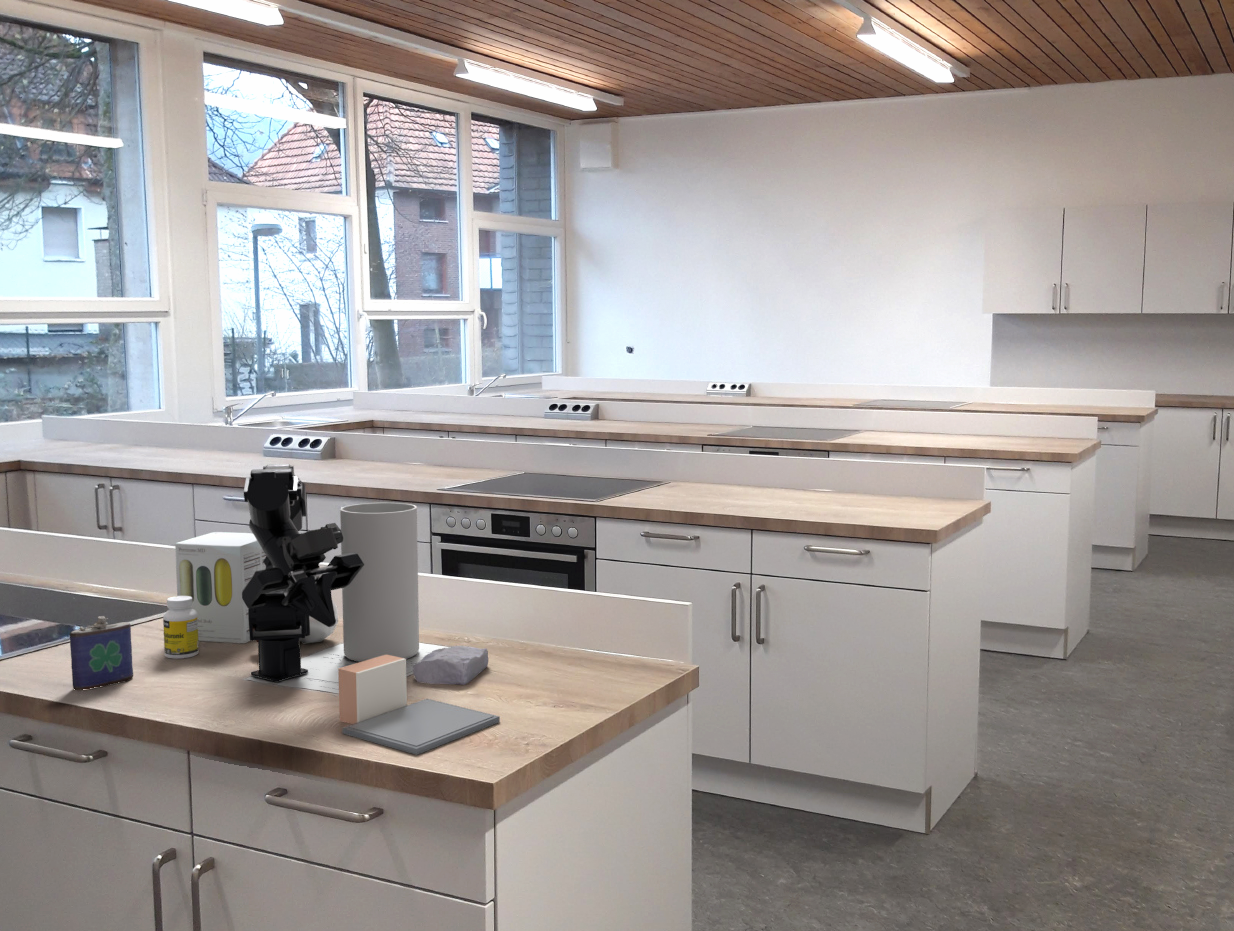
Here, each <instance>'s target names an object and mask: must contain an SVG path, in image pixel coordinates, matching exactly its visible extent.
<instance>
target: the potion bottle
mask: <svg viewBox="0 0 1234 931" xmlns="http://www.w3.org/2000/svg"><path fill="white" fill-rule="evenodd" d="M332 603H333V608H334V614H335V619H336V623H335V624H334V626H332V627H327V626H326V625H324V624H322V623H321V622H319V621H317V620H315V619H314V618H312V617H310V616H309V618H310V635H309V636H305V638H299V643H302V644H304V645H305V644H306V645H307V644H316V643H322V642H323V641H324V640H325V639H327V638H328V637H329V636H331V635H332V634H333V633H334V631H335V629H336V627H337V624H338V623H339V612H338V606H337V604H336V603H335V601H334V600H333V599H332ZM300 628H301V626H300ZM255 642H256V643H257V644H258V640H255Z"/></svg>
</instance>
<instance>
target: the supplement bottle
mask: <svg viewBox="0 0 1234 931" xmlns="http://www.w3.org/2000/svg"><path fill="white" fill-rule="evenodd" d="M166 606H167V608H168V610H167V611H166V612H164V613H163V616H162V618H163V620H162V623H163V645H164V650H163V651H164V656H165V657H166V658H169V659H176V660H177V659H178V660H180V659H181V660H182V659H187V658H192V657H194V656H197V655H198V654H199V652H200V651H199V650H200V648H199V641H198V619H197V612H196V611H195V610H194V609H191V606H192V597H190V596H177V595H176V596H171V597H168V598H167V599H166Z"/></svg>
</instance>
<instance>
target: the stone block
mask: <svg viewBox="0 0 1234 931" xmlns="http://www.w3.org/2000/svg"><path fill="white" fill-rule="evenodd" d="M488 665H489V650H488V648H485V647H484V648H478V647H474V646H473V647H472V646H469V645H452V646H449V647H443V648H438V649H434V650H432V651H431V652H430V653H427V654H426V655H424V656H423V657H422V658H421V660H420V661H419V662H417V663H414V664H413V667H412V671H413V672H412V673H413V676H414V679H415V680H416V682H418V683H422V682H423V683H422V684H431V685H432V684H433V685H434V684H435V685H440V684H441V685H442V684H443V685H462V686H463V685H464V686H465V685H467V684H469V683H470V682H471V681H472V680H473V679H474V678H476V677H477V676H478V675H479V674H480V673H481V672H484V670H486V668H487V667H488Z"/></svg>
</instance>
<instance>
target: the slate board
mask: <svg viewBox="0 0 1234 931" xmlns="http://www.w3.org/2000/svg"><path fill="white" fill-rule="evenodd" d="M500 719H501V718H500V715H496V714H492V713H487V712H484V711H479V710H475V709H471V708H468V707H467V708H466V707H463V706H459V705H456V704H455V705H454V704H451V703H447V702H442V701H439V700H435V699H431V698H424V699H422V700H419V701H416V702H413V703H410V704H407V706H404V707H401V708H398V709H395V710H392V711H390V712H387V713H384V714H381V715H378V716H375V717H372V718H369V719H366V720H363V721H361V722H358V723H355V724H349V725H346V726H344V727H342V734H343V735H347V736H350V737H354V738H356V737H357V739H360V740H364V741H367V742H371V743H375V744H378V745H380V746H381V745H382V746H385V747H389V748H392V749H395V750H398V751H402V752H405V753H409V754H413V755H415V756H417V755H420V754H422V753H425V752H427V751H429V750H433V749H435V748H437V747H438V748H439V747H440V746H442V745H445V744H448V743H450V742H453V741H454V740H459V739H460V738H463V737H465V736H468V735H471V734H473V733H476V732H478V731H480V730H483V729H485V728H488V727H490V726H493V725H496V724H498V723H500V721H501V720H500Z"/></svg>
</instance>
